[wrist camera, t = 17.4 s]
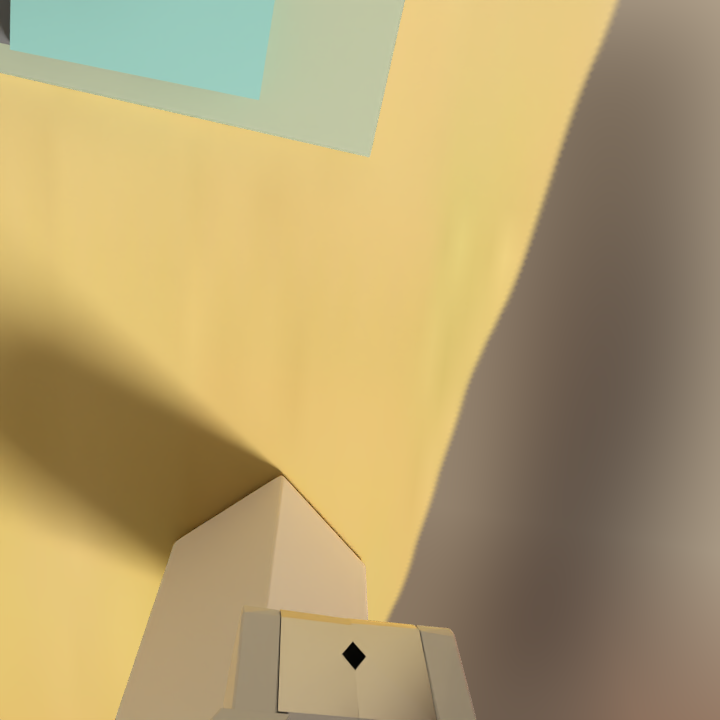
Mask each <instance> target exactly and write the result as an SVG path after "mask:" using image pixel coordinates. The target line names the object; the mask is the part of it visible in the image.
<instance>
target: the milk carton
mask: <svg viewBox="0 0 720 720" xmlns="http://www.w3.org/2000/svg"><path fill="white" fill-rule="evenodd" d="M244 605H247V606H254V607H261V608H268V609H275V610H279V611H280V609H282V610H289V611H296V612H303V613H310V614H318V615H325V616H332V617H339V618H351V619H361V620H368V609H367V588H366V568H365V564H364V563H363V562H362V561H361V560H360V559H359V558H358V557H357V556H356V555H355V554H354V552H353V551H352V550H351V549H350V548H349V547H348V546H347V545H346V544H345V543H344V542H343V540H342V539H341V538H340V537H339V536H338V535H337V534H336V533H335V532H334V531H333V530H332V528H331V527H330V526H329V525H328V524H327V523H326V522H325V521H324V520H323V519H322V518H321V516H320V515H319V514H318V513H317V512H316V511H315V510H314V509H313V508H312V507H311V506H310V504H309V503H308V502H307V501H306V500H305V499H304V498H303V497H302V496H301V495H300V494H299V493H298V491H297V490H296V489H295V488H294V487H293V486H292V485H291V484H290V483H289V482H288V481H287V479H286V478H285V477H284V476H279V477H277V478H275V479H273V480H272V481H270V482H268V483H267V484H265V485H264V486H262V487H261V488H259V489H257V490H256V491H254V492H253V493H251V494H249V495H248V496H246V497H245V498H243V499H242V500H240V501H238V502H237V503H235V504H234V505H232V506H230V507H229V508H227V509H226V510H224V511H223V512H221V513H219V514H218V515H216V516H215V517H213V518H211V519H210V520H208V521H207V522H205V523H204V524H202V525H200V526H199V527H197V528H196V529H194V530H192V531H191V532H189V533H188V534H186V535H185V536H183V537H182V538H180V539H179V540H177V541H176V542H175V543H174V545H173V548H172V551H171V554H170V557H169V560H168V563H167V566H166V569H165V572H164V575H163V578H162V581H161V584H160V587H159V590H158V593H157V596H156V599H155V602H154V605H153V608H152V611H151V614H150V617H149V620H148V623H147V626H146V629H145V632H144V635H143V638H142V641H141V644H140V647H139V650H138V653H137V656H136V659H135V662H134V665H133V668H132V671H131V674H130V677H129V680H128V683H127V686H126V689H125V691H124V694H123V697H122V700H121V703H120V706H119V709H118V712H117V715H116V718H115V720H210V719H211V718H212V717H213V716H214V715H215V714H216V713H217V711H218V710H219V709H220V708H223V702H224V697H225V691H226V685H227V680H228V674H229V668H230V663H231V658H232V653H233V648H234V643H235V639H236V634H237V629H238V624H239V619H240V614H241V610H242V608H243V606H244Z"/></svg>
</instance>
